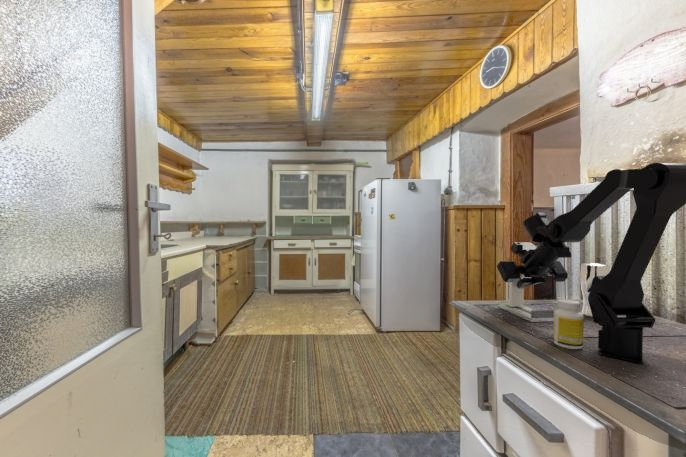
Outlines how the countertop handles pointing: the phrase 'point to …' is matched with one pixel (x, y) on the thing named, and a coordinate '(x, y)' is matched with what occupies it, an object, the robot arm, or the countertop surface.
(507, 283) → the white rectangular canister
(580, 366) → the countertop surface
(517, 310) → the fader rail
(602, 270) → the beer glass
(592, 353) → the countertop surface
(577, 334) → the supplement bottle
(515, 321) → the countertop surface
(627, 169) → the robot arm
